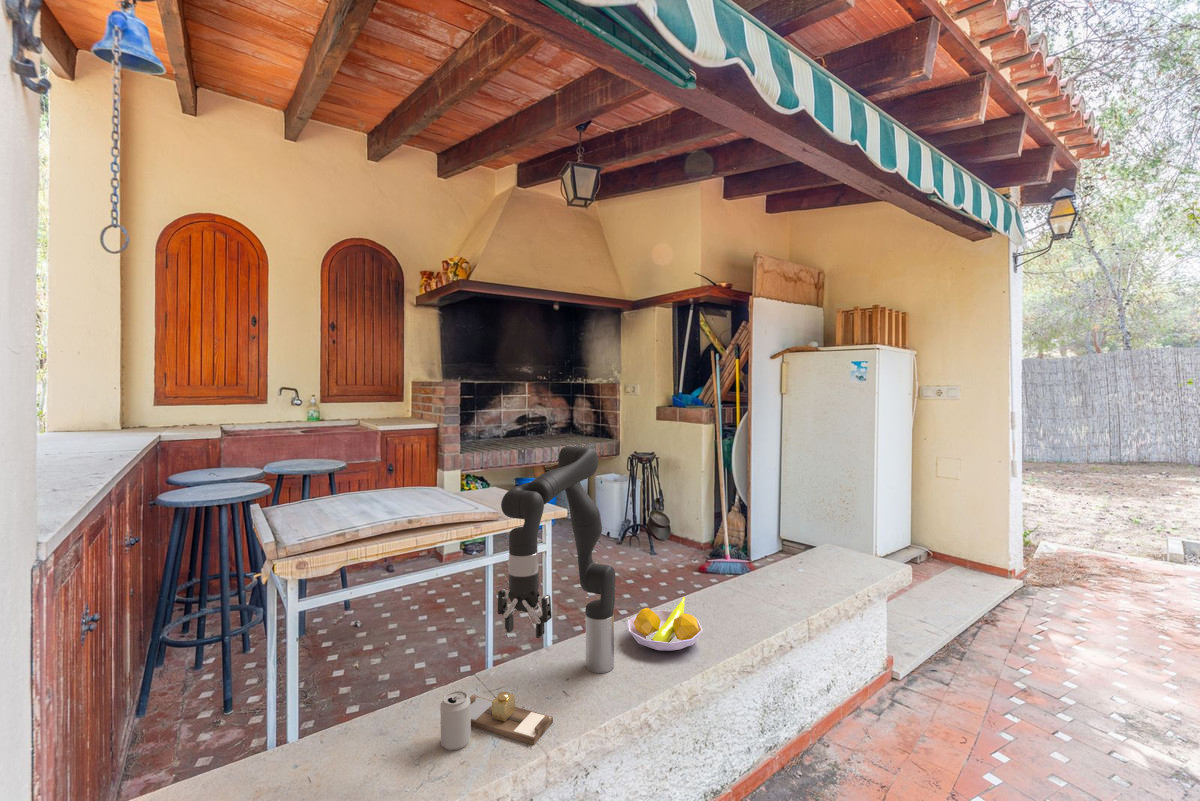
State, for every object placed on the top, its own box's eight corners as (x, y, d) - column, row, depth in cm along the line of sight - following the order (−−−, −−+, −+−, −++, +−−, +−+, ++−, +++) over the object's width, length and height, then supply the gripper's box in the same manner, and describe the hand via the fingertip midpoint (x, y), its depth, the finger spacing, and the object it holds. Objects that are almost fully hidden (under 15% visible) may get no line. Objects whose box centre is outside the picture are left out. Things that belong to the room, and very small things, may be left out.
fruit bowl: (664, 668, 173) (663, 633, 172) (612, 637, 195) (612, 606, 194) (722, 643, 189) (722, 612, 189) (669, 617, 211) (668, 589, 211)
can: (435, 742, 137) (434, 696, 137) (461, 729, 142) (461, 684, 142) (449, 756, 132) (449, 708, 131) (476, 742, 137) (476, 696, 137)
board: (477, 701, 155) (476, 691, 155) (553, 722, 145) (552, 711, 145) (454, 721, 146) (454, 710, 146) (534, 744, 136) (534, 733, 136)
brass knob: (502, 707, 148) (502, 688, 148) (514, 711, 147) (514, 691, 147) (492, 718, 144) (491, 697, 144) (504, 721, 142) (504, 701, 142)
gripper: (555, 568, 134) (556, 632, 135) (507, 562, 140) (508, 623, 140) (541, 578, 127) (542, 645, 128) (491, 571, 133) (492, 635, 133)
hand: (524, 634), depth 134 cm, fingers open, 8 cm apart
